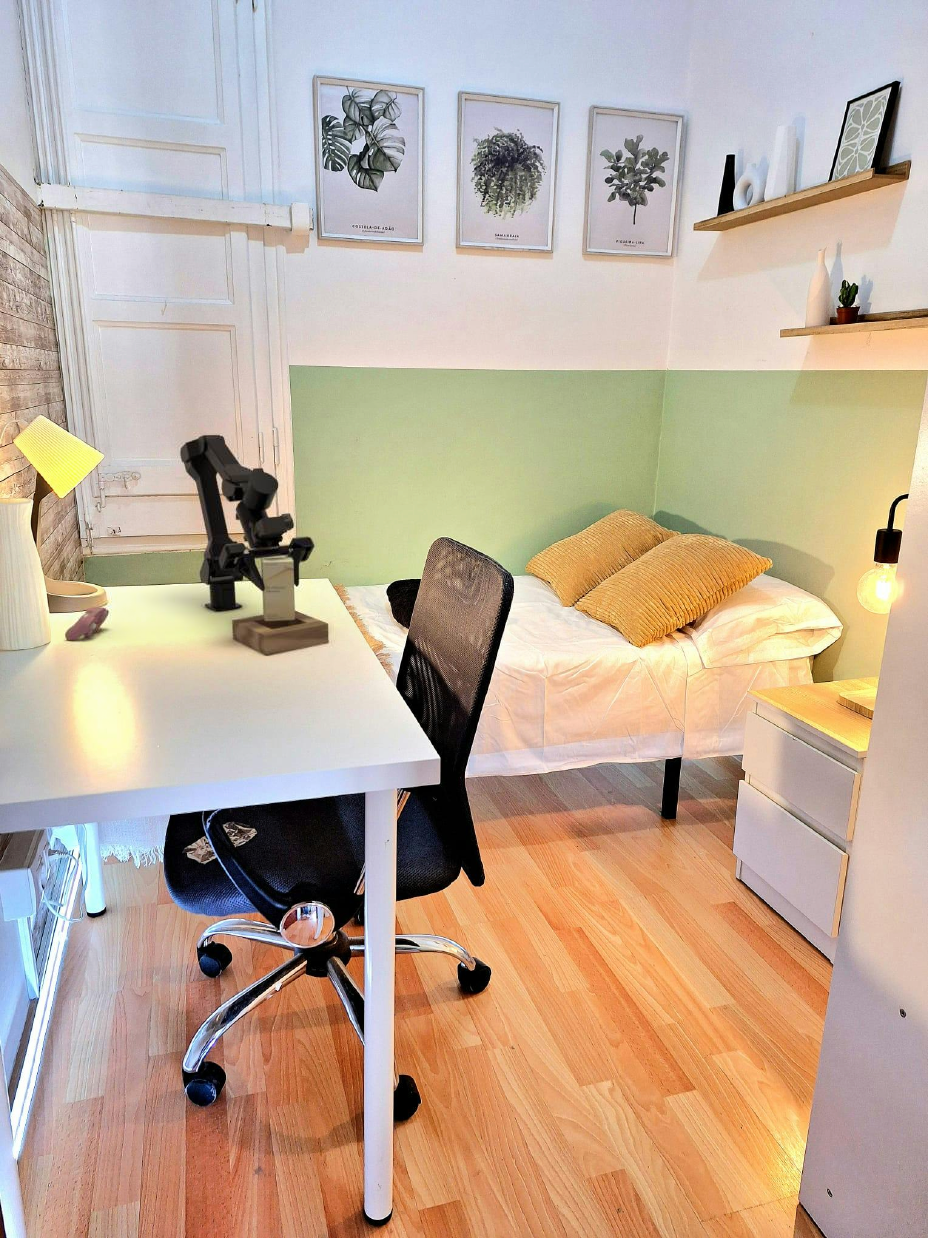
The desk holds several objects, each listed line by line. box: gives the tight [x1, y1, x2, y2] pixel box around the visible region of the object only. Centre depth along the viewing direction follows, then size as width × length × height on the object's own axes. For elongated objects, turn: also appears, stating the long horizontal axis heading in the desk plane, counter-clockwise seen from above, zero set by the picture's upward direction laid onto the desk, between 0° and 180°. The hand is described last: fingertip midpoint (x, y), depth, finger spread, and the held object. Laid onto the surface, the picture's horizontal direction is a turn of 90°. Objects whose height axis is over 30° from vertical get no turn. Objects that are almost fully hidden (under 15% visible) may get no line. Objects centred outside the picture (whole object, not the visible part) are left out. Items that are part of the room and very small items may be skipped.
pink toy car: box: [64, 605, 110, 642], centre depth 172 cm, size 10×5×7 cm, turn 179°
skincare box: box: [260, 556, 296, 621], centre depth 168 cm, size 6×4×12 cm
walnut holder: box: [231, 610, 329, 656], centre depth 171 cm, size 14×14×4 cm
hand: (280, 587), depth 167 cm, fingers closed on skincare box, 7 cm apart
